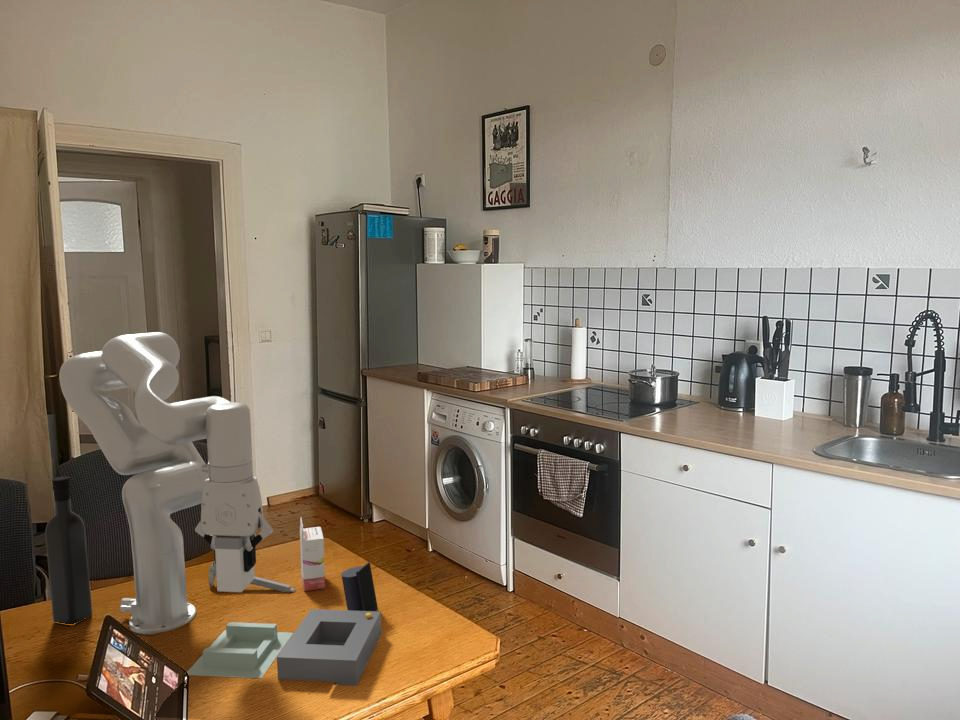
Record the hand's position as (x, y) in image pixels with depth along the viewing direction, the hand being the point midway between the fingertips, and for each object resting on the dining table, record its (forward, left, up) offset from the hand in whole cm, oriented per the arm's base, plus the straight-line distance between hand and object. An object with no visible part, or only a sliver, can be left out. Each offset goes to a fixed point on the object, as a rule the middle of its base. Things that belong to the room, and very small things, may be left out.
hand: (235, 567), depth 135 cm
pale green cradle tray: (0, 0, -17) cm, 17 cm away
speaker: (+17, +19, -17) cm, 31 cm away
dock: (+17, +1, -17) cm, 24 cm away
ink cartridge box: (+3, +32, -17) cm, 36 cm away
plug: (0, 0, -3) cm, 3 cm away
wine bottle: (-41, +11, -17) cm, 46 cm away
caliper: (-10, +28, -18) cm, 34 cm away
